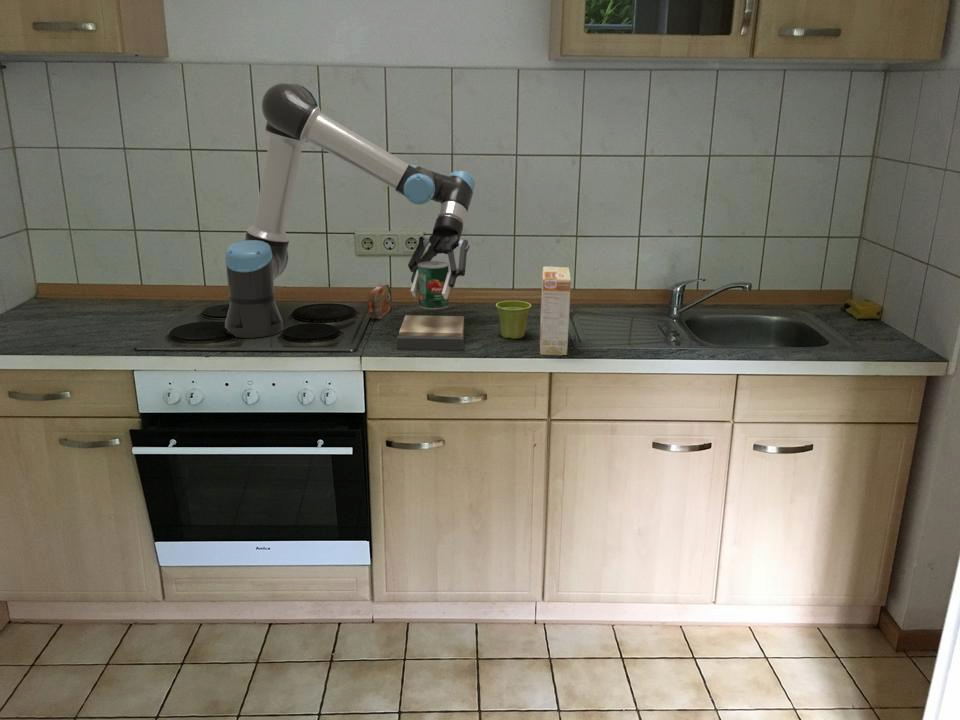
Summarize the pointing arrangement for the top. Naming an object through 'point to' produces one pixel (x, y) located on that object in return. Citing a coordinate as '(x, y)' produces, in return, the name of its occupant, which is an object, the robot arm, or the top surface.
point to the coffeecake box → (555, 310)
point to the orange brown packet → (379, 301)
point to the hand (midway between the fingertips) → (428, 295)
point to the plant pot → (513, 318)
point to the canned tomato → (432, 284)
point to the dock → (431, 333)
